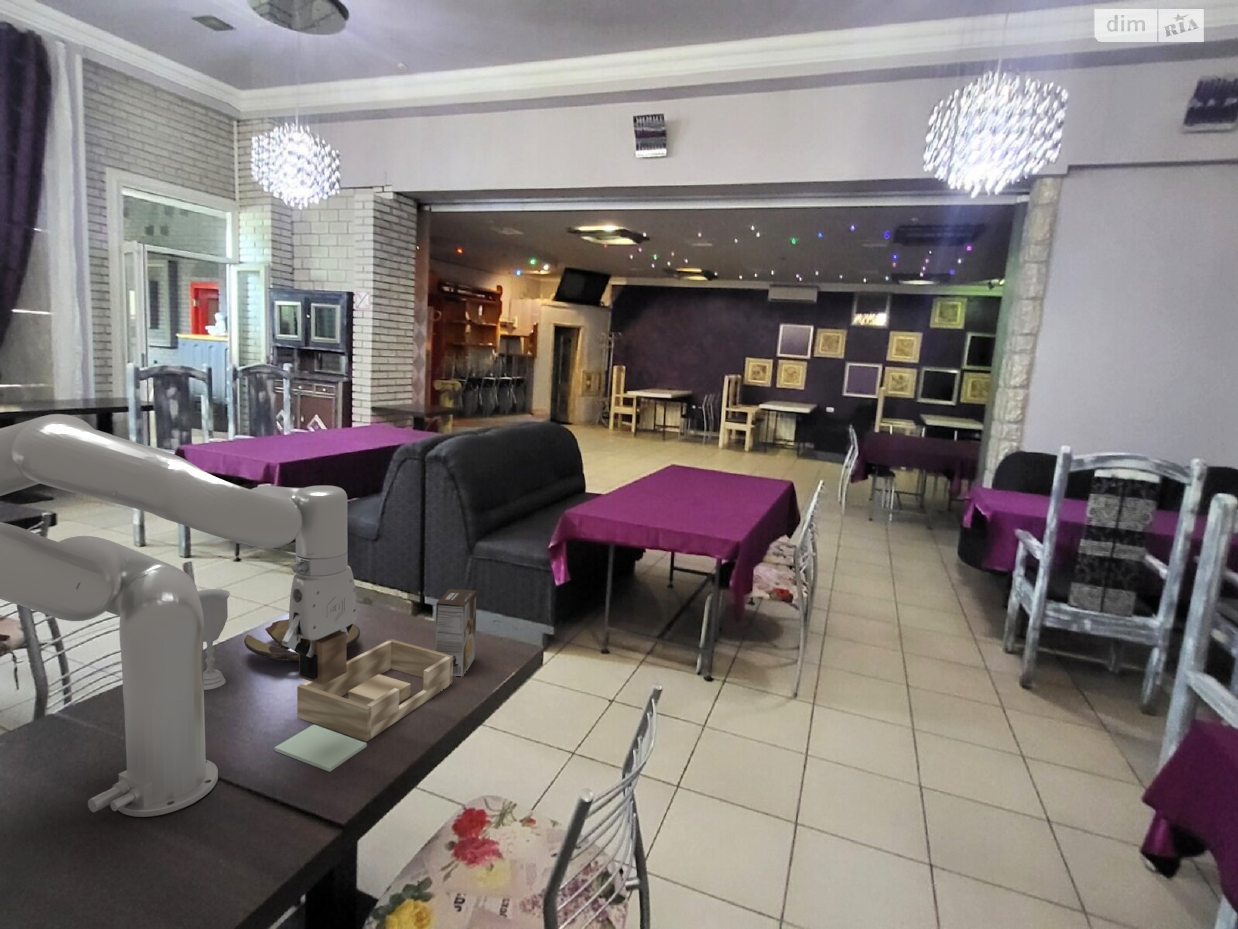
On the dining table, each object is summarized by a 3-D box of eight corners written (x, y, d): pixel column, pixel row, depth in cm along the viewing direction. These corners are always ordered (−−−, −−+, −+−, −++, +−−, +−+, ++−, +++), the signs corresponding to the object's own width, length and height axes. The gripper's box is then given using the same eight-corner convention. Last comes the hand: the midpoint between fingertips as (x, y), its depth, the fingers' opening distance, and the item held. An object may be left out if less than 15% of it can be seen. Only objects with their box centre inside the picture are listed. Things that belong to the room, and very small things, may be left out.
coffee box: (447, 656, 146) (449, 587, 144) (475, 659, 146) (478, 590, 144) (433, 675, 137) (435, 602, 135) (463, 678, 137) (466, 604, 134)
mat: (329, 772, 103) (329, 768, 103) (274, 750, 108) (274, 747, 108) (366, 746, 111) (366, 743, 111) (313, 727, 115) (313, 724, 115)
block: (322, 685, 104) (322, 643, 103) (299, 677, 106) (298, 637, 105) (346, 672, 109) (346, 632, 108) (323, 665, 111) (323, 626, 110)
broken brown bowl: (216, 670, 133) (215, 634, 132) (313, 618, 162) (313, 588, 161) (312, 688, 129) (312, 651, 128) (395, 631, 158) (395, 600, 157)
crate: (366, 741, 112) (366, 709, 111) (297, 717, 118) (297, 686, 117) (452, 683, 134) (453, 656, 133) (390, 665, 140) (391, 639, 139)
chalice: (240, 677, 131) (238, 591, 128) (215, 694, 124) (213, 603, 121) (205, 673, 131) (203, 587, 129) (179, 689, 125) (177, 599, 122)
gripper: (295, 582, 95) (296, 698, 98) (378, 554, 111) (378, 655, 114) (258, 573, 98) (260, 686, 101) (344, 547, 114) (345, 645, 117)
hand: (322, 668), depth 107 cm, fingers closed on block, 5 cm apart
